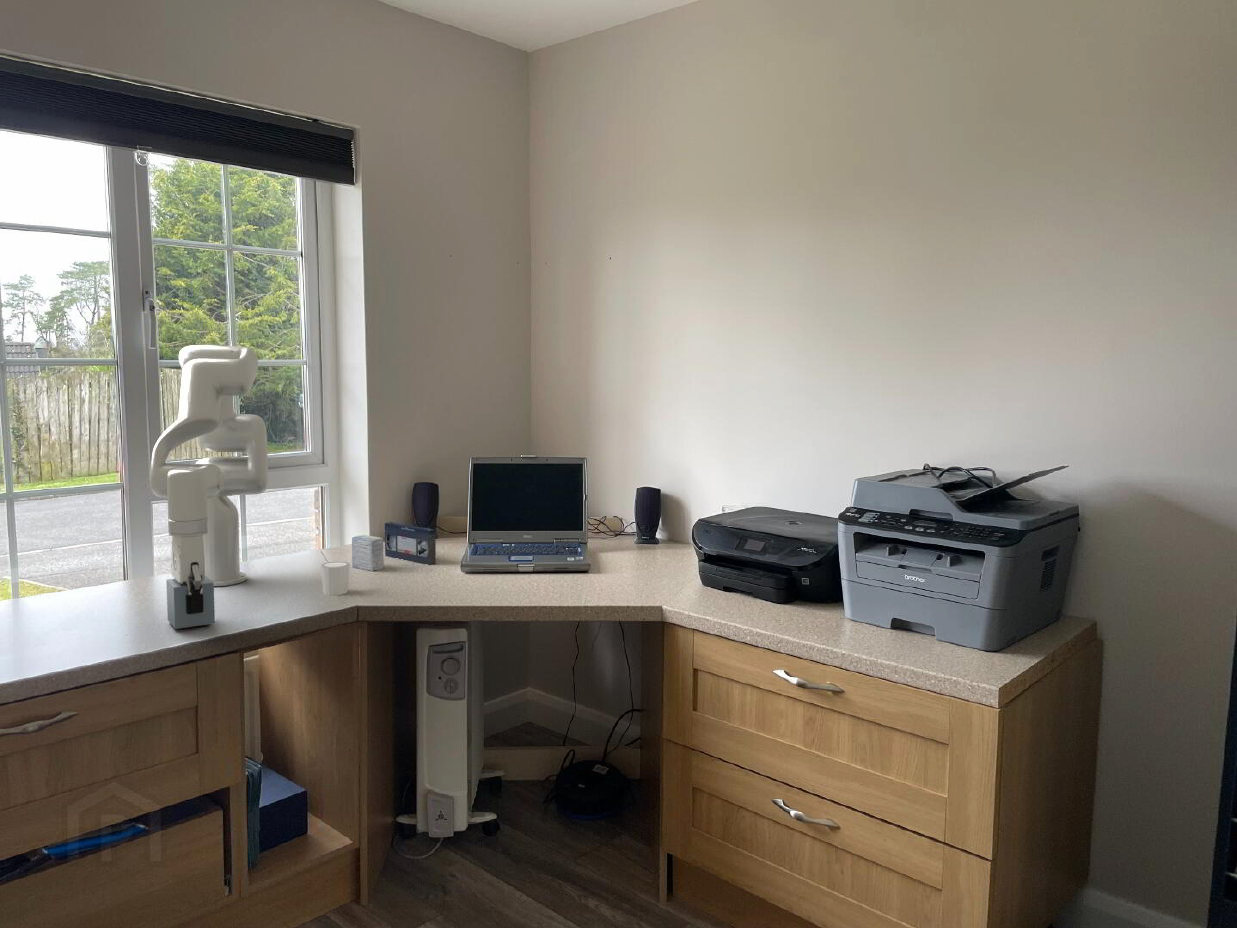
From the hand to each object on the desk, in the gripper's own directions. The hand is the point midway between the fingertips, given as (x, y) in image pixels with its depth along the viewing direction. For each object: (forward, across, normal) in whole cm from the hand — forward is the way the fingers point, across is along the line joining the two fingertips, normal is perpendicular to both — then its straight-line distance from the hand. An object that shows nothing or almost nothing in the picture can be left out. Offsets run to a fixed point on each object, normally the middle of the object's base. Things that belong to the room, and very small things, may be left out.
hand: (190, 607), depth 191 cm
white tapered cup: (+4, -11, +35) cm, 37 cm away
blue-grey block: (+3, 0, 0) cm, 3 cm away
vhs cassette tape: (+4, -35, +65) cm, 74 cm away
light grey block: (+4, -31, +51) cm, 60 cm away
